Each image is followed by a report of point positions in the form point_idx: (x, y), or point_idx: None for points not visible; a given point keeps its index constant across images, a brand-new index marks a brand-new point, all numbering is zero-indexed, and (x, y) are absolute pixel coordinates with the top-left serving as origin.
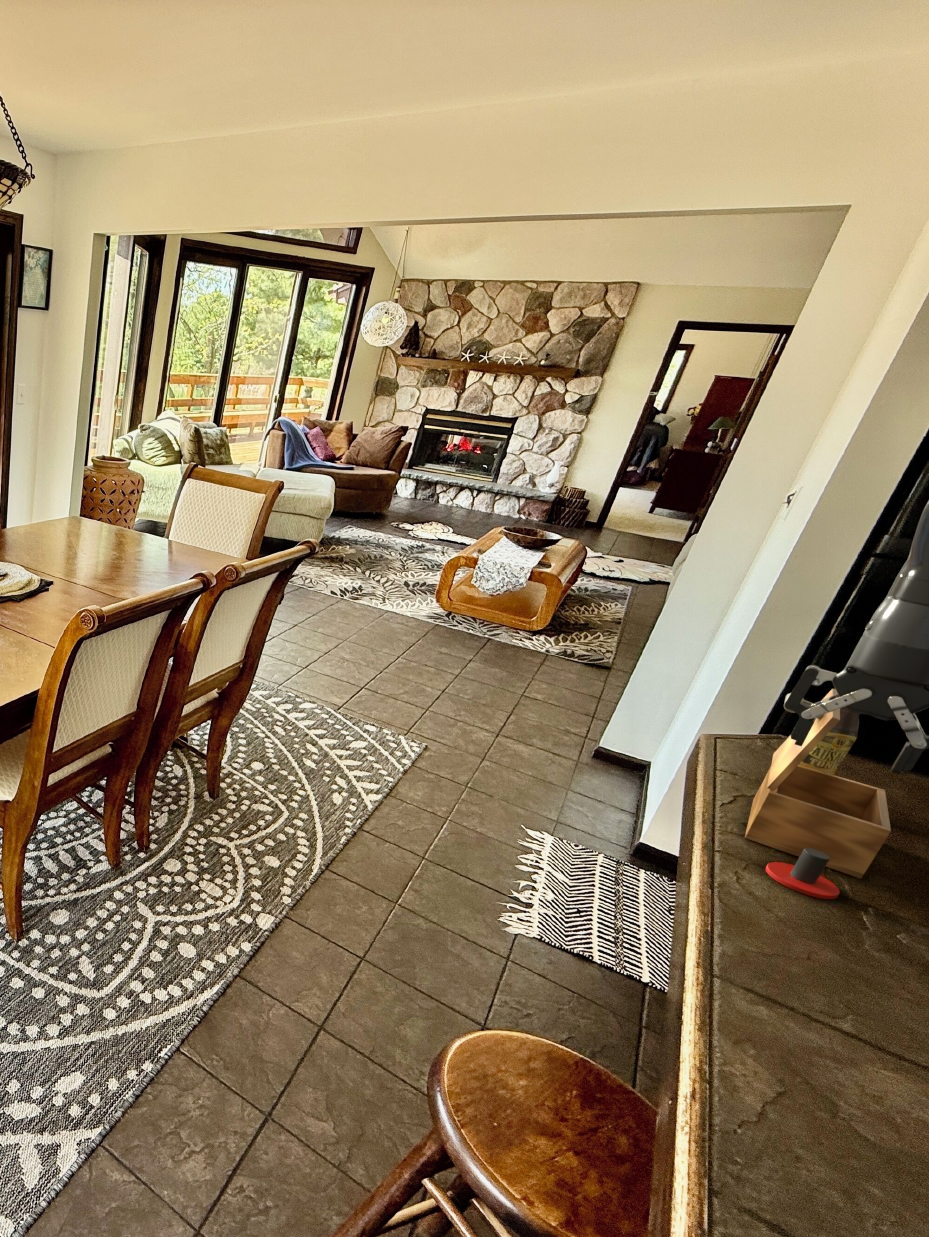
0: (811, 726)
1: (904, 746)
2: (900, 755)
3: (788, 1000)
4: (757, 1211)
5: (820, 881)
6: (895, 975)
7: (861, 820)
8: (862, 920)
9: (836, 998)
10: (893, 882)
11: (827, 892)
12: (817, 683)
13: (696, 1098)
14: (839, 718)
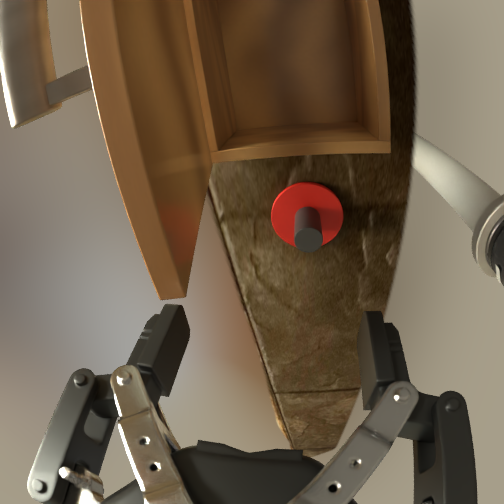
0: (171, 383)
1: (372, 377)
2: (362, 377)
3: (309, 387)
4: (304, 448)
5: (324, 207)
6: None
7: (350, 147)
8: (361, 252)
9: (332, 371)
10: (396, 98)
11: (331, 231)
12: (103, 490)
13: (285, 436)
14: (177, 279)
